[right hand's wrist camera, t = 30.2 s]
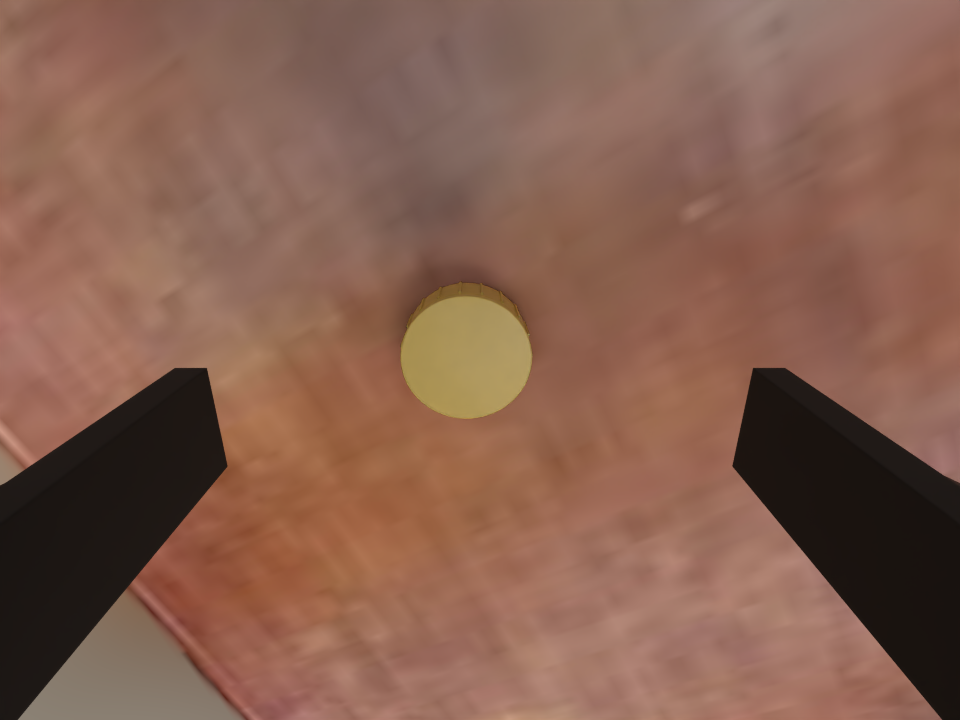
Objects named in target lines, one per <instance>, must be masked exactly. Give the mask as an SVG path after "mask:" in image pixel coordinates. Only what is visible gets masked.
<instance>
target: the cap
mask: <svg viewBox="0 0 960 720" xmlns="http://www.w3.org/2000/svg"><path fill="white" fill-rule="evenodd" d="M406 328H407V330H406V332H405V335H404V338H403V340H402V343H401V346H400V347H401V368H402V372H403V375H404V378H405V380H406V383H407V385H408V386H409V388H410V390H411V391H412V392H413V394H414V395H415V396H416V397H417V398H418V399H419V400H420V401H421V402H422V403H423V404H425V405H426V406H427V407H429V408H430V409H432V410H434V411H436V412H438V413H440V414H443V415H446V416H449V417H454V418H463V419H470V418H479V417H484V416H487V415H490V414H493V413H495V412H497V411H499V410H501V409H502V408H504V407H506V406H507V405H508V404H509V403H511V402H512V401H513V400H514V399H515V398H516V397H517V396H518V395H519V393H520V392H521V391H522V389H523V388H524V386H525V384H526V382H527V380H528V377H529V374H530V370H531V365H532V356H533V354H532V350H531V344H530V341H529V338H528V336H530V334H529V331H528V328H527V325H526V323H525V321H524V322H523V319H522V317H521V315H520V313H519V311H518V308H517V306H516V304H515V305H514V304H513V303H512V302H511V301H510V300H509V299H508V298H507V297H505V296H504V295H503V294H502V292H501V291H499V292H498V291H497V290H495V289H492V288H490V287H488V286H485V285H483V283H480V284H476V283H462V281H461V282H459V283H457V284H452V285H448V286H445V287H443V288H442V287H439V289H438V290H436V291H435V292H433V293H432V294H430V295H429V296H428V297H426V298H423V299H422V301H421V303H420V305H419V306H418V307H417V309H416V310H415V312H414V313H413V314H411V316H410V318H409V321H408V323H407V326H406Z"/></svg>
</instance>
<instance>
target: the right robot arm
mask: <svg viewBox="0 0 960 720" xmlns="http://www.w3.org/2000/svg"><path fill="white" fill-rule="evenodd" d="M226 468H227V461H226V457H225V452H224V447H223V442H222V438H221V433H220V428H219V423H218V419H217V414H216V409H215V404H214V400H213V395H212V390H211V385H210V381H209V376H208V371H207V368H174V369H173V370H171V371H170V372H168V373H167V374H166V375H164V376H163V377H161V378H160V379H158V380H157V381H155V382H154V383H152V384H151V385H149V386H148V387H146V388H145V389H143V390H142V391H140V392H139V393H137V394H136V395H135V396H133V397H132V398H130V399H129V400H127V401H126V402H124V403H123V404H121V405H120V406H118V407H117V408H115V409H114V410H112V411H111V412H109V413H108V414H106V415H105V416H104V417H102V418H101V419H99V420H98V421H96V422H95V423H93V424H92V425H90V426H89V427H87V428H86V429H84V430H83V431H81V432H80V433H78V434H77V435H75V436H74V437H73V438H71V439H70V440H68V441H67V442H65V443H64V444H62V445H61V446H59V447H58V448H56V449H55V450H53V451H52V452H50V453H49V454H47V455H46V456H44V457H43V458H42V459H40V460H39V461H37V462H36V463H34V464H33V465H31V466H30V467H28V468H27V469H25V470H24V471H22V472H21V473H19V474H18V475H17V476H15V477H14V478H12V479H11V480H9V481H8V482H6V483H4V484H2V485H0V720H18V719H19V718H20V716H21V715H22V714H23V713H24V711H25V710H26V709H27V708H28V707H29V705H30V704H31V703H32V702H33V701H34V699H35V698H36V697H37V696H38V695H39V693H40V692H41V691H42V690H43V689H44V687H45V686H46V685H47V684H48V682H49V681H50V680H51V679H52V678H53V676H54V675H55V674H56V673H57V672H58V670H59V669H60V668H61V667H62V666H63V664H64V663H65V662H66V661H67V660H68V658H69V657H70V656H71V655H72V654H73V652H74V651H75V650H76V649H77V647H78V646H79V645H80V644H81V643H82V641H83V640H84V639H85V638H86V637H87V635H88V634H89V633H90V632H91V631H92V629H93V628H94V627H95V626H96V624H97V623H98V622H99V621H100V620H101V619H102V617H103V616H104V615H105V614H106V612H107V611H108V610H109V609H110V608H111V606H112V605H113V604H114V603H115V602H116V600H117V599H118V598H119V597H120V596H121V594H122V593H123V592H124V591H125V590H126V588H127V587H128V586H129V585H130V583H131V582H132V581H133V580H134V579H135V577H136V576H137V575H138V574H139V573H140V571H141V570H142V569H143V568H144V567H145V565H146V564H147V563H148V562H149V561H150V559H151V558H152V557H153V556H154V554H155V553H156V552H157V551H158V550H159V548H160V547H161V546H162V545H163V544H164V542H165V541H166V540H167V539H168V538H169V536H170V535H171V534H172V533H173V532H174V530H175V529H176V528H177V527H178V526H179V524H180V523H181V522H182V521H183V519H184V518H185V517H186V516H187V515H188V513H189V512H190V511H191V510H192V509H193V507H194V506H195V505H196V504H197V503H198V501H199V500H200V499H201V498H202V497H203V495H204V494H205V493H206V492H207V490H208V489H209V488H210V487H211V486H212V484H213V483H214V482H215V481H216V480H217V478H218V477H219V476H220V475H221V474H222V472H223V471H224V470H225V469H226ZM733 468H734V469H735V470H736V471H737V472H738V474H739V475H740V476H741V477H742V478H743V480H744V481H745V482H746V483H747V484H748V486H749V487H750V488H751V489H752V490H753V492H754V493H755V494H756V495H757V497H758V498H759V499H760V500H761V501H762V503H763V504H764V505H765V506H766V507H767V509H768V510H769V511H770V512H771V513H772V515H773V516H774V517H775V518H776V519H777V521H778V522H779V523H780V524H781V526H782V527H783V528H784V529H785V530H786V532H787V533H788V534H789V535H790V536H791V538H792V539H793V540H794V541H795V542H796V544H797V545H798V546H799V547H800V548H801V550H802V551H803V552H804V553H805V554H806V556H807V557H808V558H809V559H810V561H811V562H812V563H813V564H814V565H815V567H816V568H817V569H818V570H819V571H820V573H821V574H822V575H823V576H824V577H825V579H826V580H827V581H828V582H829V583H830V585H831V586H832V587H833V588H834V590H835V591H836V592H837V593H838V594H839V596H840V597H841V598H842V599H843V600H844V602H845V603H846V604H847V605H848V606H849V608H850V609H851V610H852V611H853V612H854V614H855V615H856V616H857V617H858V619H859V620H860V621H861V622H862V623H863V625H864V626H865V627H866V628H867V629H868V631H869V632H870V633H871V634H872V635H873V637H874V638H875V639H876V640H877V641H878V643H879V644H880V645H881V646H882V647H883V649H884V650H885V651H886V652H887V654H888V655H889V656H890V657H891V658H892V660H893V661H894V662H895V663H896V664H897V666H898V667H899V668H900V669H901V670H902V672H903V673H904V674H905V675H906V676H907V678H908V679H909V680H910V681H911V683H912V684H913V685H914V686H915V687H916V689H917V690H918V691H919V692H920V693H921V695H922V696H923V697H924V698H925V699H926V701H927V702H928V703H929V704H930V705H931V707H932V708H933V709H934V710H935V711H936V713H937V714H938V715H939V716H940V718H941V719H942V720H960V483H958V482H956V481H954V480H952V479H950V478H948V477H945V476H944V475H942V474H941V473H939V472H938V471H936V470H935V469H933V468H932V467H930V466H929V465H927V464H926V463H924V462H923V461H921V460H920V459H918V458H917V457H916V456H914V455H913V454H911V453H910V452H908V451H907V450H905V449H904V448H902V447H901V446H899V445H898V444H896V443H895V442H893V441H892V440H890V439H889V438H887V437H886V436H885V435H883V434H882V433H880V432H879V431H877V430H876V429H874V428H873V427H871V426H870V425H868V424H867V423H865V422H864V421H862V420H861V419H859V418H858V417H856V416H855V415H854V414H852V413H851V412H849V411H848V410H846V409H845V408H843V407H842V406H840V405H839V404H837V403H836V402H834V401H833V400H831V399H830V398H828V397H827V396H825V395H824V394H823V393H821V392H820V391H818V390H817V389H815V388H814V387H812V386H811V385H809V384H808V383H806V382H805V381H803V380H802V379H800V378H799V377H797V376H796V375H794V374H793V373H792V372H790V371H789V370H787V369H786V368H753V371H752V376H751V381H750V385H749V390H748V395H747V400H746V404H745V409H744V414H743V419H742V423H741V428H740V433H739V438H738V442H737V447H736V452H735V457H734V461H733Z"/></svg>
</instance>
